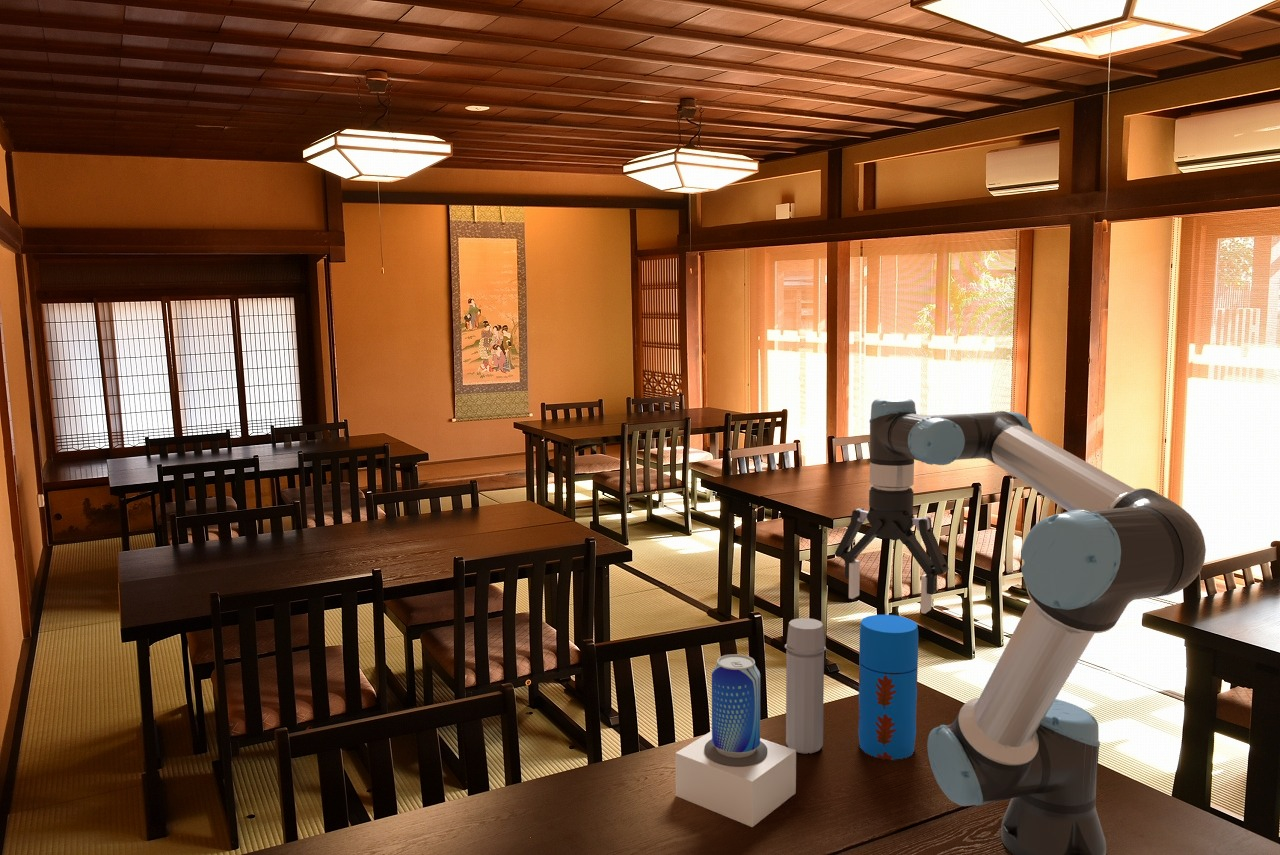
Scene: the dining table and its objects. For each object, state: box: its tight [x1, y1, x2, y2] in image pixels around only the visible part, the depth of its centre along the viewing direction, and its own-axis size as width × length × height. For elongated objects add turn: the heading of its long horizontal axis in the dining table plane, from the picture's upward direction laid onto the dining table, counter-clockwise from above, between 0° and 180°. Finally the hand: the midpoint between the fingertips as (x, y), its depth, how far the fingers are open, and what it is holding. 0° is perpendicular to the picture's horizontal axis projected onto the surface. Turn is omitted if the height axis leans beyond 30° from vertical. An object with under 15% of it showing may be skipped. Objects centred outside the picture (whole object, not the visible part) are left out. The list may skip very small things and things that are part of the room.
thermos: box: [857, 614, 919, 761], centre depth 178 cm, size 11×11×25 cm
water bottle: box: [784, 617, 827, 755], centre depth 179 cm, size 9×8×25 cm
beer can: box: [711, 653, 761, 758], centre depth 161 cm, size 8×8×16 cm
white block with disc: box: [675, 730, 797, 828], centre depth 162 cm, size 16×14×8 cm
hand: (889, 604), depth 164 cm, fingers open, 13 cm apart
